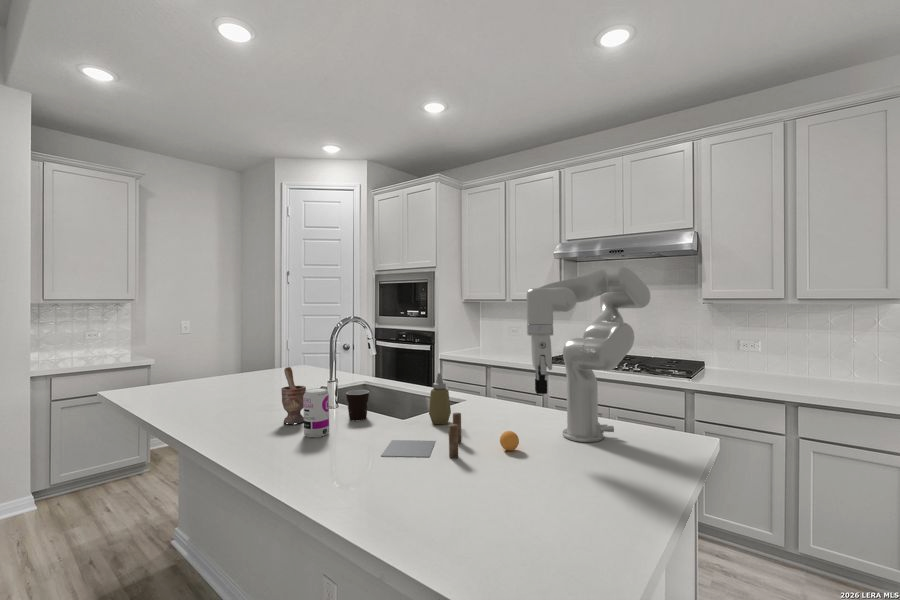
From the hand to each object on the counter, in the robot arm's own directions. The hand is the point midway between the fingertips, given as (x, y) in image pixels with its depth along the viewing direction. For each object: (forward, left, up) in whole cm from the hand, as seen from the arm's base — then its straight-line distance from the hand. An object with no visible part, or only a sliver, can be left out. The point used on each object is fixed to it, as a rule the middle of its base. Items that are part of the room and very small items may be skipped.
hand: (541, 392), depth 128 cm
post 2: (+26, +6, -17) cm, 31 cm away
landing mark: (+40, 0, -17) cm, 43 cm away
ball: (+10, 0, -14) cm, 17 cm away
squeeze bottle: (+34, -28, -17) cm, 47 cm away
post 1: (+26, -6, -17) cm, 31 cm away
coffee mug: (+66, -34, -17) cm, 76 cm away
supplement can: (+74, -12, -17) cm, 76 cm away
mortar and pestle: (+90, -27, -17) cm, 95 cm away
